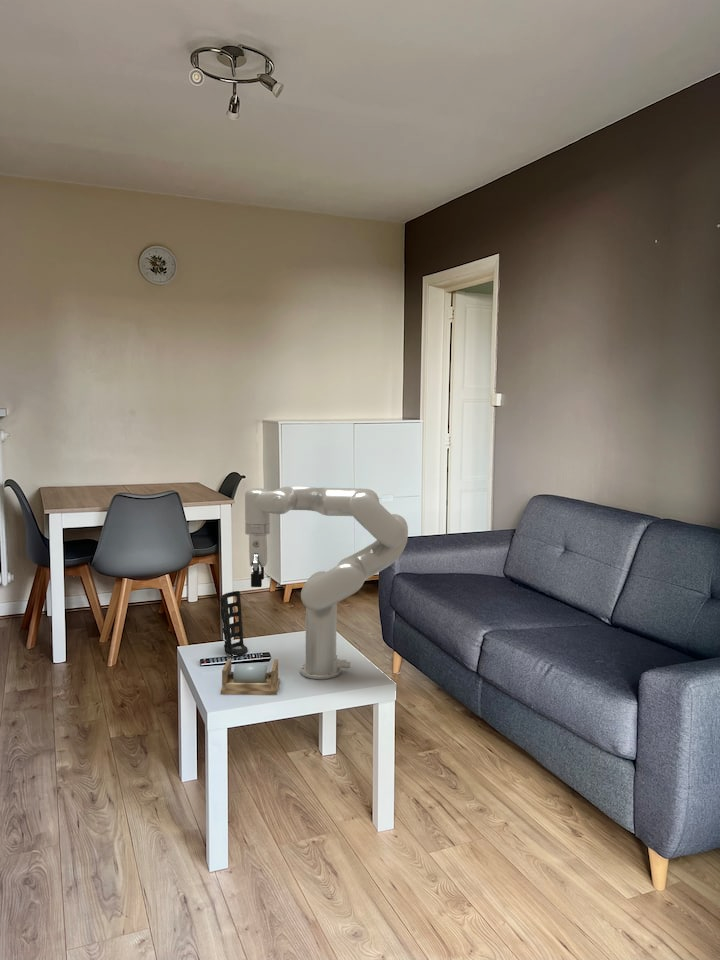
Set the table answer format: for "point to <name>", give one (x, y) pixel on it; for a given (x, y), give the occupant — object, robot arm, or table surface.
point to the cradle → (250, 688)
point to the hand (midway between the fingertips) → (257, 583)
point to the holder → (227, 625)
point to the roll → (250, 673)
